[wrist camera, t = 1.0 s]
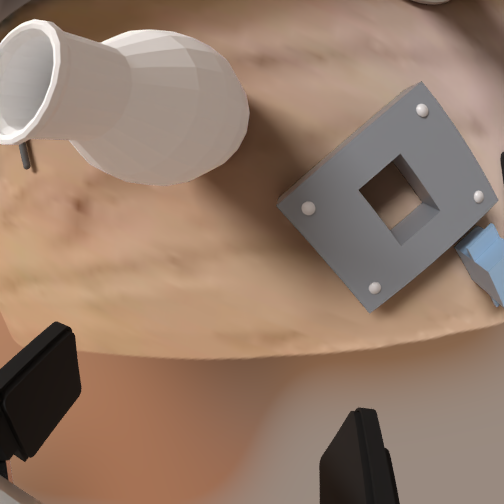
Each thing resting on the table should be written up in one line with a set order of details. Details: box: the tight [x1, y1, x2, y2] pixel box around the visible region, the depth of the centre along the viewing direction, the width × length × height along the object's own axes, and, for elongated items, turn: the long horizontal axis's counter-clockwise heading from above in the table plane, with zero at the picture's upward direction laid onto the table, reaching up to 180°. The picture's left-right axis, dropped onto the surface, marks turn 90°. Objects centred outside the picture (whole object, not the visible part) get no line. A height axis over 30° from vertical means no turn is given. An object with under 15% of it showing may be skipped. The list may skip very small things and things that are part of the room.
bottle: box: [0, 19, 250, 186], centre depth 19 cm, size 11×11×25 cm
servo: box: [454, 223, 504, 308], centre depth 28 cm, size 4×9×8 cm, turn 43°
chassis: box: [276, 81, 498, 313], centre depth 29 cm, size 18×14×5 cm
